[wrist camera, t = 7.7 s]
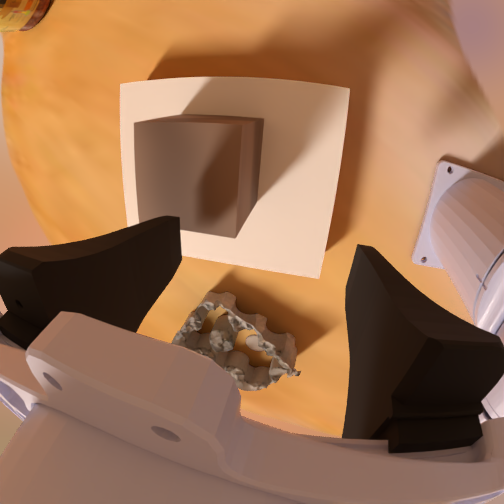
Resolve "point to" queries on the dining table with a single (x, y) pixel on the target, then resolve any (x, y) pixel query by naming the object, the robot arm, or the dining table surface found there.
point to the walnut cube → (198, 170)
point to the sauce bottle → (21, 14)
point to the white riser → (271, 166)
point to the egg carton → (224, 340)
